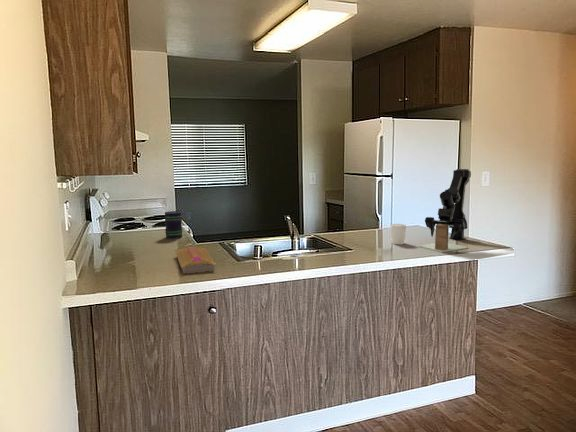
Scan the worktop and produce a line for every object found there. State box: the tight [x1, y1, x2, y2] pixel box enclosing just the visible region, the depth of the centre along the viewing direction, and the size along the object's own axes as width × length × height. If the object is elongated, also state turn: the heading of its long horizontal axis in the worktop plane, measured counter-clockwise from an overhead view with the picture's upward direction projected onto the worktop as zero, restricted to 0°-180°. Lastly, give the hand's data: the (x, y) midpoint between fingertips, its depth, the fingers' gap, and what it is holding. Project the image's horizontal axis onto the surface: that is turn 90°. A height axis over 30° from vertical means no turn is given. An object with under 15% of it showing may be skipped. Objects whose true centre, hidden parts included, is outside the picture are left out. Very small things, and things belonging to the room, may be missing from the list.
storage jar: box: [164, 210, 184, 240], centre depth 275 cm, size 10×10×15 cm
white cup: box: [390, 223, 407, 245], centre depth 249 cm, size 8×8×10 cm
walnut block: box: [434, 224, 450, 250], centre depth 231 cm, size 5×5×12 cm
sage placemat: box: [418, 242, 469, 253], centre depth 238 cm, size 18×16×1 cm
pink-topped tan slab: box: [174, 246, 217, 274], centre depth 211 cm, size 35×14×6 cm, turn 18°
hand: (441, 237), depth 230 cm, fingers open, 9 cm apart
